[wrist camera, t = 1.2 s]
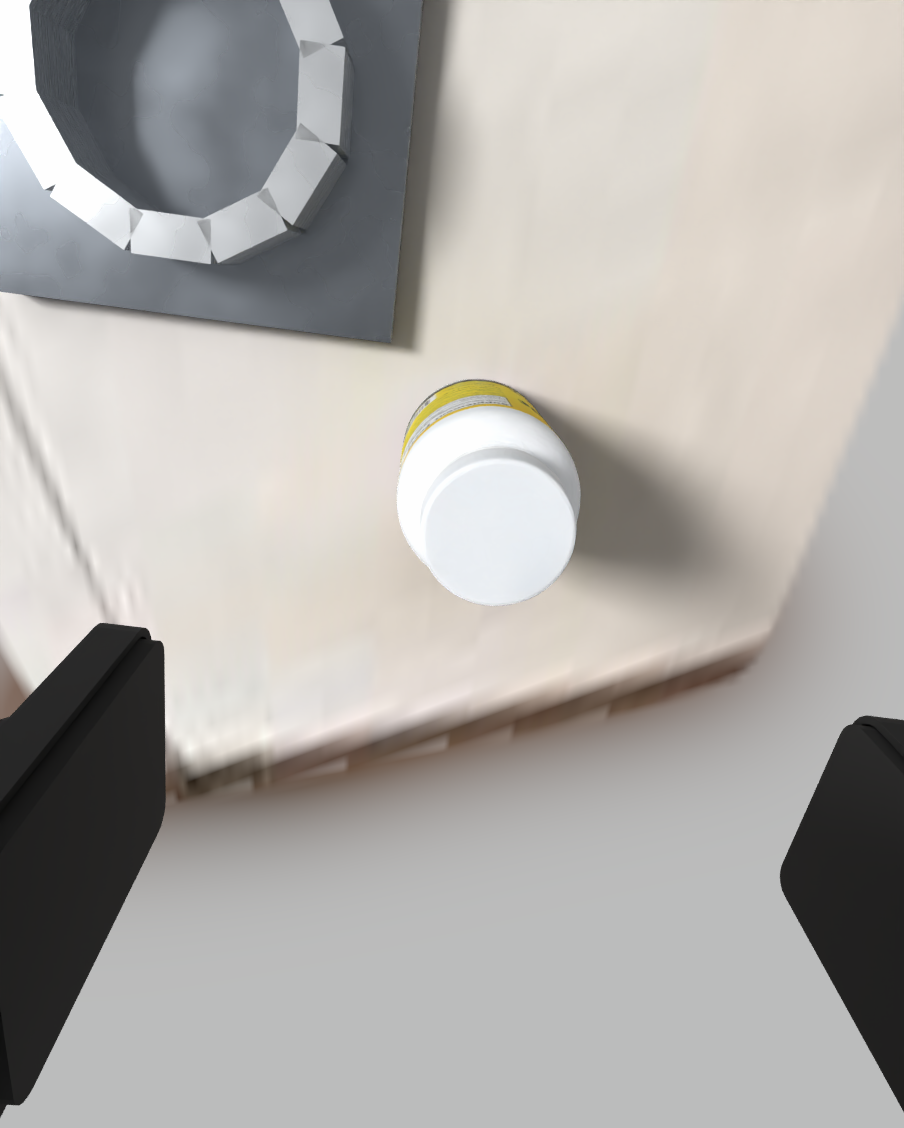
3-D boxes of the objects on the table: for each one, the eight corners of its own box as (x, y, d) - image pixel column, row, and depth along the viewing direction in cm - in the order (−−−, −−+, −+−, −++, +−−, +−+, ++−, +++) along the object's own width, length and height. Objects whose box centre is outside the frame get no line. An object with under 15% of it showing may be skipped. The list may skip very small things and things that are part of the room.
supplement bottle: (556, 499, 28) (617, 610, 18) (422, 528, 28) (417, 652, 19) (532, 359, 25) (587, 408, 16) (387, 393, 26) (363, 459, 17)
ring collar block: (435, -131, 20) (435, -207, 17) (391, 340, 25) (385, 350, 22) (-38, -217, 19) (-134, -316, 16) (14, 290, 24) (-51, 293, 21)
